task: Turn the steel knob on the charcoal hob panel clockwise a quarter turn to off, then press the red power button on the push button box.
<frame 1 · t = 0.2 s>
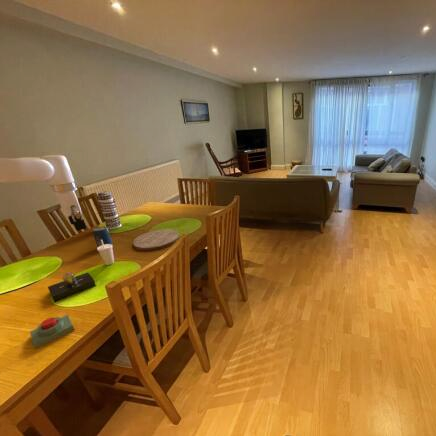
hand: (78, 226, 102), 27 cm above the table, tool pointing down, fingers open, 9 cm apart
trivet: (157, 240, 148), on the table
push button box: (54, 333, 84), on the table
hob panel: (73, 289, 106), on the table
soda can: (105, 247, 141), on the table
hob knob: (69, 278, 104), point 5 cm above the table, hinge at 90.0°
power button: (49, 323, 82), point 4 cm above the table, slide at 0.1 cm
grey ringed cylinder: (114, 226, 167), on the table
smoothie: (110, 263, 125), on the table
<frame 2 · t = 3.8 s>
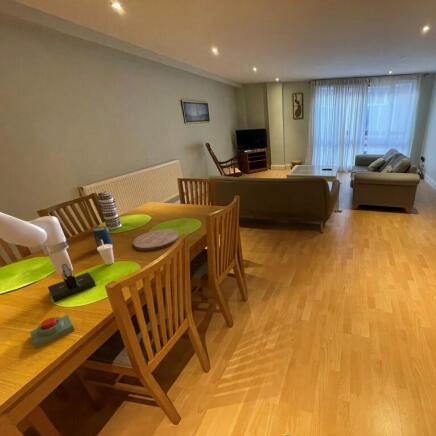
hand: (70, 282, 104), 3 cm above the table, tool pointing down, fingers closed on hob knob, 3 cm apart
hob knob: (69, 278, 104), point 5 cm above the table, hinge at 90.1°, touching gripper
everything else where it was.
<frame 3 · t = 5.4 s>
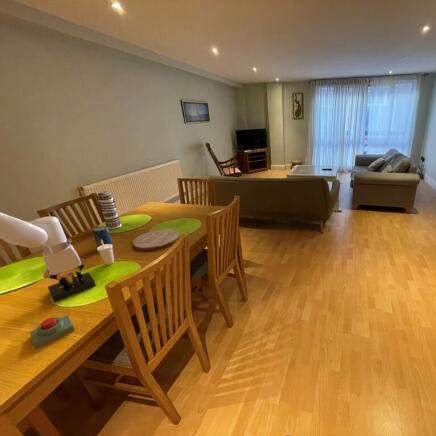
hand: (72, 282, 105), 3 cm above the table, tool pointing down, fingers open, 4 cm apart
hob knob: (69, 278, 104), point 5 cm above the table, hinge at -1.4°, touching gripper
everything else where it was.
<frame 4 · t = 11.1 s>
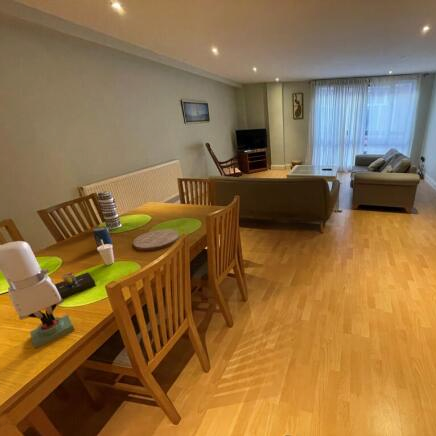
hand: (50, 323, 82), 4 cm above the table, tool pointing down, fingers closed
hob knob: (69, 278, 104), point 5 cm above the table, hinge at -1.4°
power button: (50, 325, 82), point 4 cm above the table, slide at -0.9 cm, touching gripper
everything else where it was.
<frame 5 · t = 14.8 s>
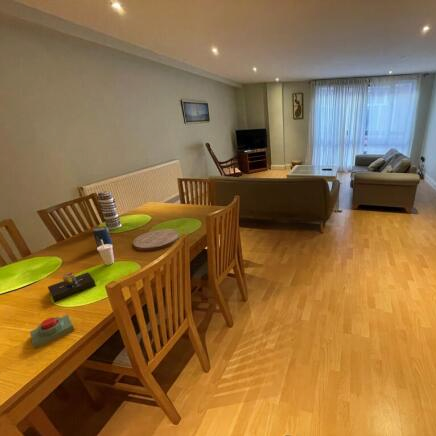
power button: (49, 323, 82), point 4 cm above the table, slide at 0.1 cm
everything else where it was.
at the end: hob knob at -1° (first picture: +90°); power button pushed in 1.1 cm at the most during the clip, back to where it started at the end; power button slide at 0.1 cm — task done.
